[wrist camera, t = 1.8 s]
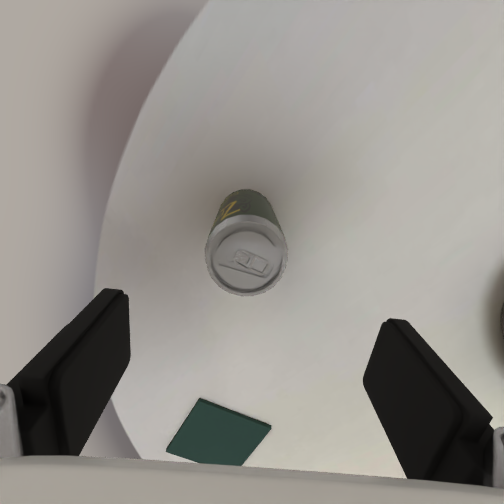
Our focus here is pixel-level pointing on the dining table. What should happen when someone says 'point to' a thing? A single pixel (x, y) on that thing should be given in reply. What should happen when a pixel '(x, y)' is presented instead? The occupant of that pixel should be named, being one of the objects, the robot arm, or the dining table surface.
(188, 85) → the dining table surface
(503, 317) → the bowl
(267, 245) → the beer can
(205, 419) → the front mat
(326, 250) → the dining table surface
